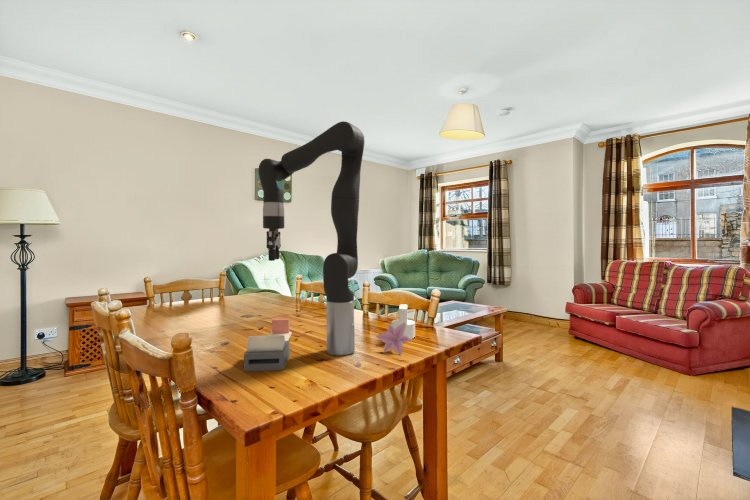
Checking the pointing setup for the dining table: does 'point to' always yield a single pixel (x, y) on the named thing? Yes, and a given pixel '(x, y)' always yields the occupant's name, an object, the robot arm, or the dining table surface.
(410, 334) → the base with upright slab
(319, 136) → the robot arm
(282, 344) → the dispenser
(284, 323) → the pink-tipped cream block
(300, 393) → the dining table surface
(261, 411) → the dining table surface
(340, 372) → the dining table surface
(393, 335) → the lily
